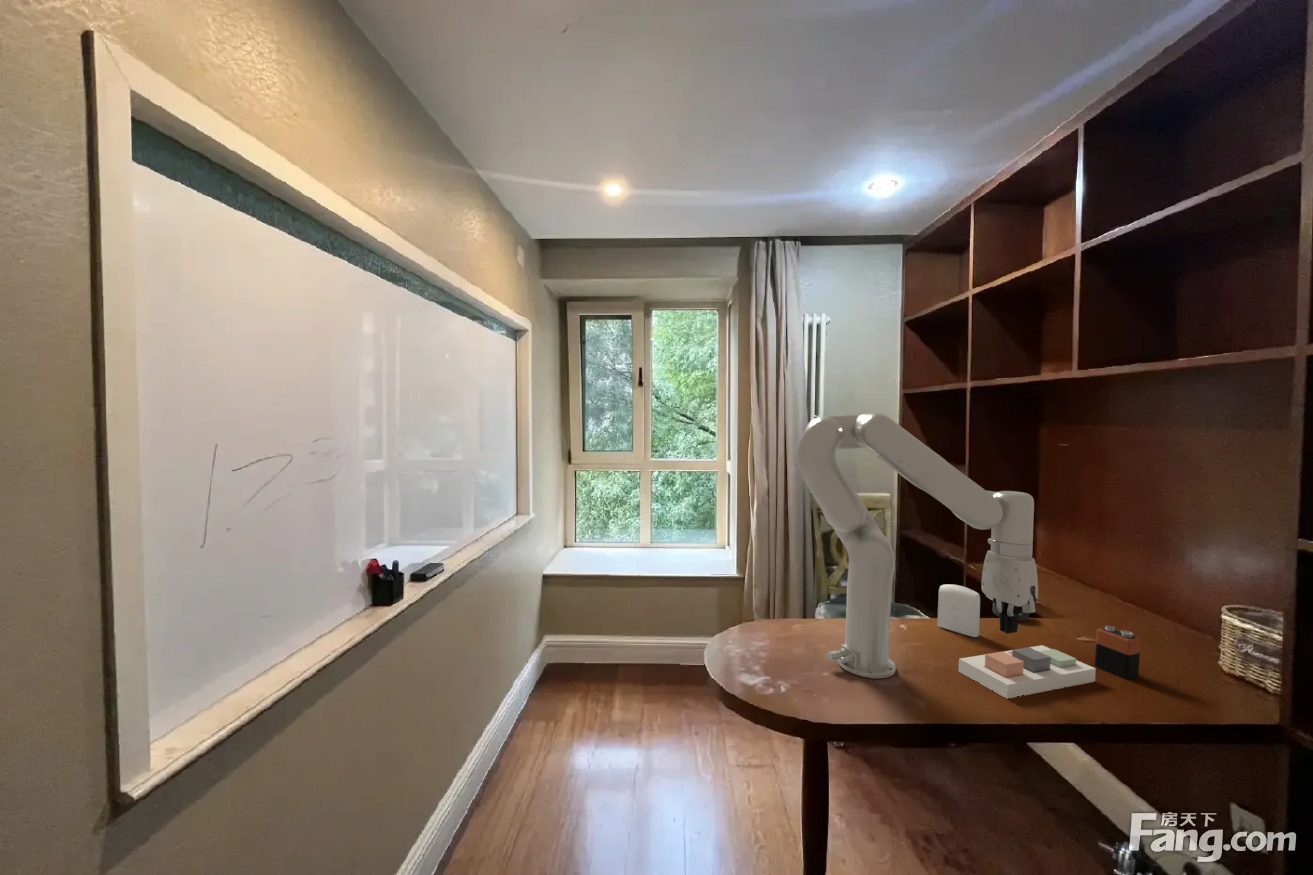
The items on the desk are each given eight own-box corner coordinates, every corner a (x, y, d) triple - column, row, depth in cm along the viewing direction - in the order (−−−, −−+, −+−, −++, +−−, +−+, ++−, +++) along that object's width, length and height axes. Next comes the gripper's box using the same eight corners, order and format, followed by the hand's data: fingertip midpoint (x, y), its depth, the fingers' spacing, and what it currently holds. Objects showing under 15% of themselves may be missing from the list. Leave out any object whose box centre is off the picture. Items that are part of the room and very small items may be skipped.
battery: (1127, 680, 120) (1130, 636, 119) (1093, 666, 126) (1096, 624, 125) (1139, 677, 121) (1142, 634, 120) (1105, 663, 127) (1108, 622, 127)
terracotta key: (1005, 679, 114) (1006, 664, 114) (984, 668, 119) (985, 654, 118) (1022, 676, 115) (1023, 661, 115) (1001, 665, 120) (1002, 651, 120)
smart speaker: (1036, 622, 152) (1037, 609, 152) (1006, 623, 151) (1007, 609, 151) (1013, 610, 161) (1014, 597, 161) (985, 611, 160) (986, 598, 160)
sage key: (1059, 675, 119) (1060, 661, 118) (1037, 664, 123) (1038, 651, 123) (1075, 672, 120) (1076, 658, 120) (1053, 662, 125) (1053, 648, 125)
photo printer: (934, 626, 148) (936, 582, 147) (941, 622, 150) (943, 579, 150) (975, 639, 140) (977, 593, 139) (981, 635, 142) (983, 589, 142)
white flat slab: (1006, 698, 111) (1007, 683, 111) (958, 671, 122) (959, 657, 122) (1094, 681, 119) (1095, 667, 118) (1041, 657, 130) (1042, 644, 130)
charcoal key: (1033, 674, 116) (1033, 659, 116) (1011, 663, 121) (1012, 649, 121) (1049, 671, 118) (1050, 657, 118) (1028, 660, 122) (1028, 647, 122)
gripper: (968, 541, 121) (965, 620, 122) (1031, 559, 107) (1028, 648, 108) (993, 539, 124) (990, 616, 125) (1059, 556, 109) (1055, 643, 110)
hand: (1008, 631), depth 116 cm, fingers closed
